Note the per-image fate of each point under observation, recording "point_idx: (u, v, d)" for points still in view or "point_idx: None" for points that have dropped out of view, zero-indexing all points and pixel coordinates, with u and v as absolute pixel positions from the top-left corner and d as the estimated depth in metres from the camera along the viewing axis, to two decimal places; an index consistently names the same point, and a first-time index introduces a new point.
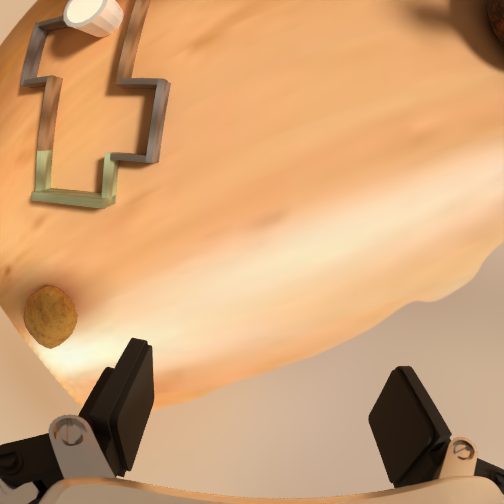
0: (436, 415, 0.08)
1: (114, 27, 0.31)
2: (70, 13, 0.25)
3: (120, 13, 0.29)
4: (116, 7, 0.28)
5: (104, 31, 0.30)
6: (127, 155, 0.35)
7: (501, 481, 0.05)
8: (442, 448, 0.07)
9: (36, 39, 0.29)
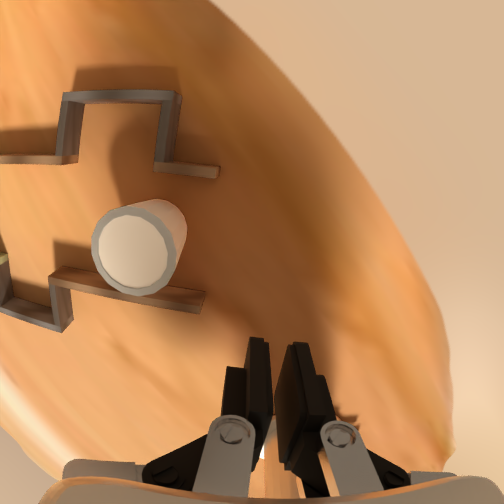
0: (315, 392, 0.09)
1: None
2: (119, 224, 0.20)
3: None
4: None
5: None
6: None
7: (391, 482, 0.06)
8: None
9: (140, 99, 0.22)
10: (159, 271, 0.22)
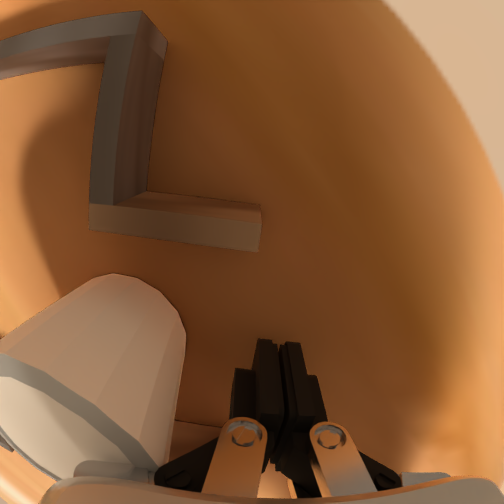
0: (305, 393, 0.09)
1: None
2: (8, 390, 0.06)
3: None
4: None
5: None
6: None
7: (381, 484, 0.06)
8: None
9: (64, 48, 0.07)
10: None
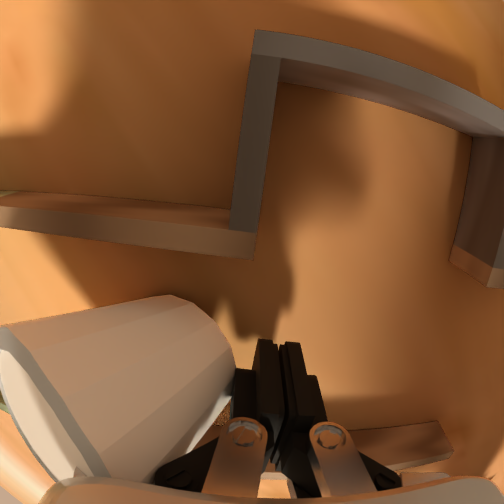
0: (304, 393, 0.09)
1: None
2: (10, 366, 0.06)
3: None
4: None
5: None
6: None
7: (381, 484, 0.06)
8: None
9: (472, 120, 0.08)
10: None
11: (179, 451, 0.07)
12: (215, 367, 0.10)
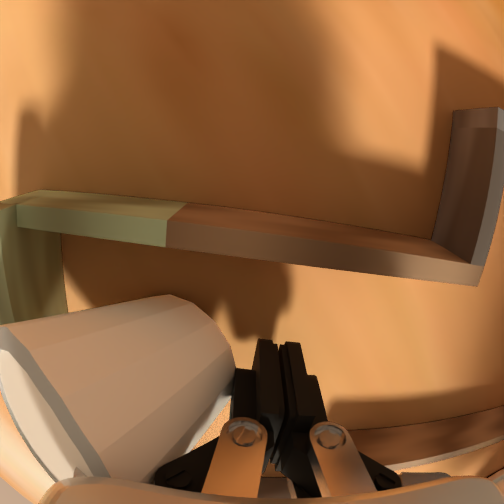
0: (305, 393, 0.09)
1: None
2: (10, 366, 0.06)
3: None
4: None
5: None
6: None
7: (381, 484, 0.06)
8: None
9: None
10: None
11: (178, 451, 0.07)
12: (215, 367, 0.10)
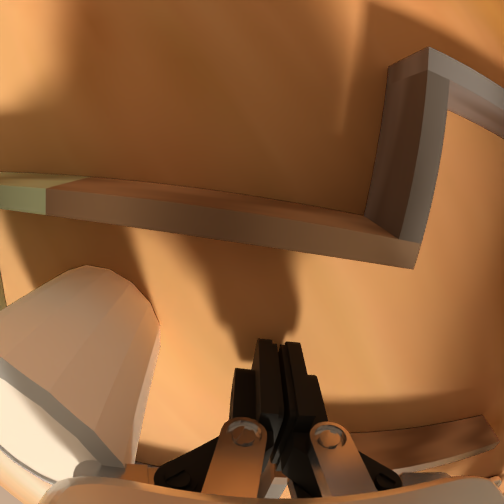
0: (305, 393, 0.09)
1: None
2: None
3: None
4: None
5: None
6: None
7: (381, 484, 0.06)
8: None
9: None
10: None
11: (140, 408, 0.08)
12: (144, 325, 0.11)
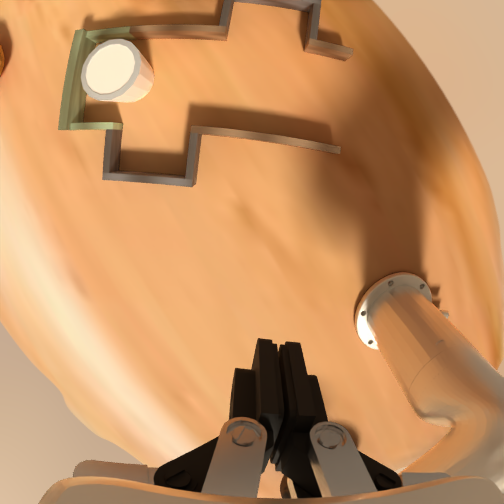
0: (305, 393, 0.09)
1: None
2: (103, 51, 0.23)
3: (127, 101, 0.30)
4: (123, 100, 0.29)
5: None
6: (109, 150, 0.31)
7: (381, 484, 0.06)
8: None
9: (294, 1, 0.26)
10: (128, 76, 0.25)
11: (146, 71, 0.27)
12: (150, 66, 0.29)
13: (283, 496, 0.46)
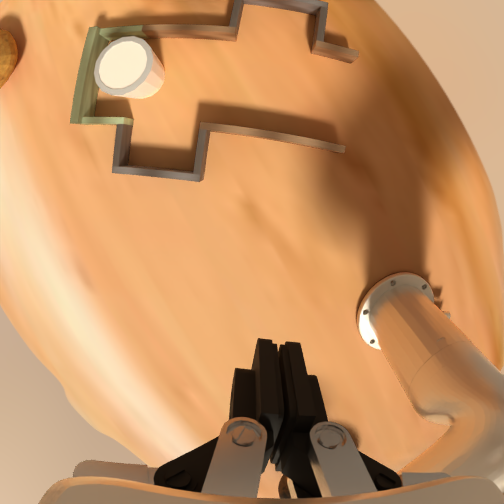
0: (305, 393, 0.09)
1: None
2: (117, 48, 0.25)
3: (139, 97, 0.31)
4: (135, 96, 0.30)
5: None
6: (119, 144, 0.32)
7: (381, 484, 0.06)
8: None
9: (302, 4, 0.27)
10: (140, 72, 0.26)
11: (157, 68, 0.28)
12: (161, 64, 0.30)
13: (281, 496, 0.46)
